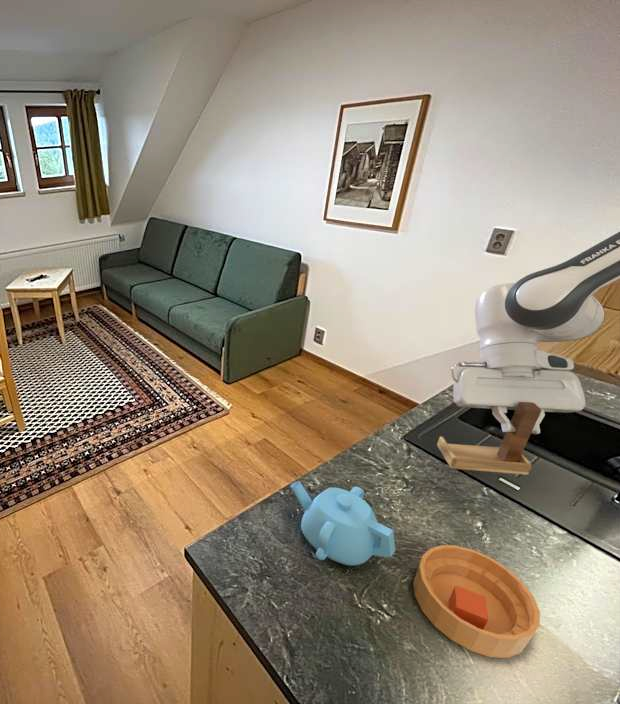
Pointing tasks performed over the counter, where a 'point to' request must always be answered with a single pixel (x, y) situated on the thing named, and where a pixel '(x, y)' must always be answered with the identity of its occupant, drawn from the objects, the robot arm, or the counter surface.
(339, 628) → the counter surface
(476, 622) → the block
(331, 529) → the teapot
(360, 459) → the counter surface
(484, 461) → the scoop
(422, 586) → the bowl
